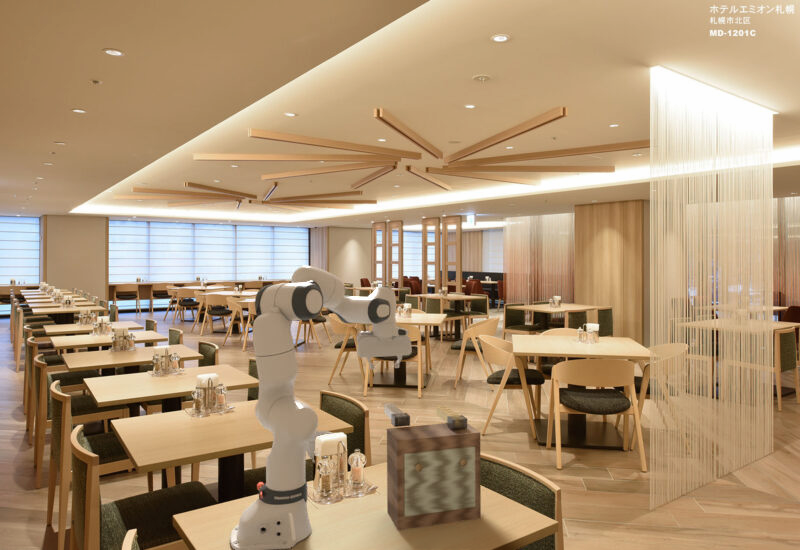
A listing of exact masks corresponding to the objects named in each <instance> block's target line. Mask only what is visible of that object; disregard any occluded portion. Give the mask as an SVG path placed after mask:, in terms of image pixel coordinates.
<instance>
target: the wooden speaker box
mask: <svg viewBox="0 0 800 550" xmlns="http://www.w3.org/2000/svg"><path fill="white" fill-rule="evenodd" d="M386 470H387V471H386V476H387V477H386V480H387V481H386V486H387V487H386V488H387V489H386V492H387V493H386V496H387V497H386V498H387V501H386V503H387V509H386V510H387V514H388V516H389V517H390V519H391V521H392V522H393V525H394V526H395V528H396V530H397V531H403V530H408V529H409V530H411V529H417V528H422V527H429V526H436V525H443V524H450V523H457V522H464V521H469V520H471V521H472V520H477V519H481V518H482V515H481V514H482V513H481V511H482V510H481V508H482V507H481V506H482V504H481V503H482V502H481V498H482V496H481V493H482V491H481V484H482V483H481V479H482V478H481V432H480V431H479V430H477V429H476V428H475V427H473V426H472V425H471V424H469V423H468V422H467V428H466V429H456V430H452V429H450V428H449V427H448V426H447V423H446V422H445V423H434V424H425V425H424V424H423V425H413V426H411V425H410V426H401V427H392V428H386Z"/></svg>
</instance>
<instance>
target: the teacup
mask: <svg viewBox="0 0 800 550" xmlns="http://www.w3.org/2000/svg"><path fill="white" fill-rule="evenodd" d="M332 433H333V432H331V431H327V430H316V432H315V434H314V435H313V436H312V437H311V438H310V440H309V443H308V447H307V451H306V454H307V455H308V457H309V458H310V459H311V462H312V463H314V464H316V463H315V460H314V451H315V438H316V437H317V436H320V435H324V434H332Z"/></svg>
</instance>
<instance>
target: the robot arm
mask: <svg viewBox="0 0 800 550" xmlns="http://www.w3.org/2000/svg"><path fill="white" fill-rule="evenodd" d="M345 291H346V289H345V284H344V282H343V280H341V279H340V277H338V276H337V275H335V274H333V273H331V272H329V271H327V270H325V269H323V268H320V267H316V266H311V265H302V266H299V267H298V268H297V269H295V271H294V272H293V273H292V276H291V279H290V282H281V283H277V284H268V285H265V286H262V287H261V288H260V289H259V290H258V291H257V293H256V296H255V301H254V309H255V314H256V316H257V317H256V318H255V319H254V321H253V326H252V341H253V342H252V343H253V353H254V358H255V363H256V371H257V376H258V378H257V379H258V400H257V402H256V404H255V407H254V414H255V417H256V419H257V420H258V422H259V424H261V426H262V427H263V428H264V429H266V430H268V431H269V432H271V433H272V436H273V440H272V447H271V449H270V452H269V453H268V454H267V456H266V458H265V481H266V482H265V483H264V482H263V481H259V482H258V483H257V484H256V489H257V490H258V498H257V499H256V500H255V501H253V502H252V503H251V504H250V505H249V506H247V507H246V508H245V509H244V510H243V511H242V512H241V515H240V517H239V522H238V524H237V525H235V527H233V529H231V530H232V531H230V532H231V533H230V538H229V543H231V544H230V546H231V549H233V550H234V549H235V550H285V549H286V550H287V549H291V547H292V548H293V547H295V546H296V544H297V543H299V542H301V541H303V540H304V539H307V537H309V536H310V535H311V533H312V531H313V528H312V525H311V522H310V519H309V518H310V516H309V513H308V505H307V504H308V503H307V501H308V494H309V493H308V492H309V490H308V483H307V479H306V457H307V447H308V443H309V440H310V438H311V437H312V436H313V435H314V434H315V432H316V431H318V427H319V426H318V425H319V418H318V414H317V413H316V411H315V410H314V409H313V408H312V407H311V406H310V405H309V404H308V403H306V402H304V401H302V400H299V399H298V398H296V396H295V382H296V379H297V378H298V376H299V368H298V362H297V355H296V350H295V343H294V339H293V334H292V331H291V329H292V324H293V322H295V321H296V322H297V321H309V320H313V319H316V318H317V317H318V316H319V315H320V314H321V311H322V309H323V308H325V310H326V309H327V310H328V311H330V312H331V313H334V314H335V315H336V316H337V318H338V319H339V320H340V321H341V322H343V323H344V324H363V325H365V324H366V325H371V327H372V330H370V331H360V332H359V333H357V335H356V343H357V345H356V347H357V348H356V355H357V356H358V357H359V358H365V359H366V362H367V363H368V364H369V366H368V367H369V370H375V363H372V361H371V360H372V358H377V357H378V358H379V357H396V358H397V360H396V361H395V362H394V363H393V364H394V365H393V366H394V368H395V369H399V368H400V364H401V361H402V360H403V356H410V355H411V354H412V352H413V351H412V350H413V349H412V341H411V338H410V336H409V335H410V331H409V330H408V329H406V328H403V327H400V326H397V319H396V313H397V299H396V293H395V290H394V289H393V288H392V287H387V286H376V287H373V292H372V293H371V294H369V295H367V296H357V295H356V296H355V295H345Z"/></svg>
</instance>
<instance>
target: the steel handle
mask: <svg viewBox="0 0 800 550" xmlns="http://www.w3.org/2000/svg"><path fill="white" fill-rule="evenodd" d="M383 405H384V406H383V407H384V408H383V410H384V411H383V412H384V414H385V415H386V416H387V417H388V418H389V419H390V420H391V422H390V423H391V424H392V426H393V428H400V427H410V426H411V416H410V415H409V414H408V413H407V412H403V411H402V410H401V409H400V408H398V406H397V405H396V404H394V403H393V402H391V403H384V404H383Z"/></svg>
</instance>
